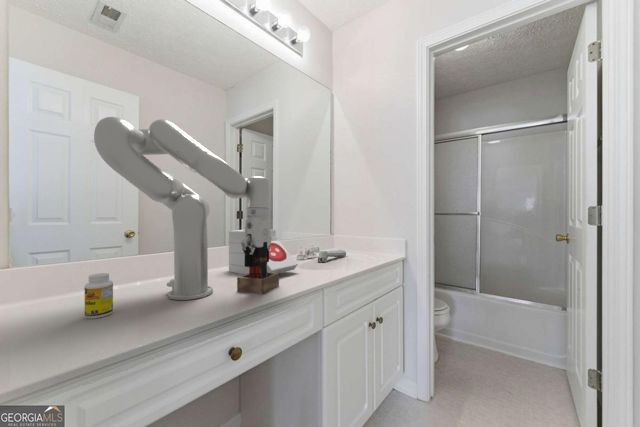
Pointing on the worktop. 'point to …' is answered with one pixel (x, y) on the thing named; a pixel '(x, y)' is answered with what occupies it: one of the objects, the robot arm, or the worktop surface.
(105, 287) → the supplement bottle
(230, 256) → the white stacked boxes
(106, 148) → the robot arm
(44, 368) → the worktop surface
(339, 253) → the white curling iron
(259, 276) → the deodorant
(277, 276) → the holder
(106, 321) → the worktop surface
